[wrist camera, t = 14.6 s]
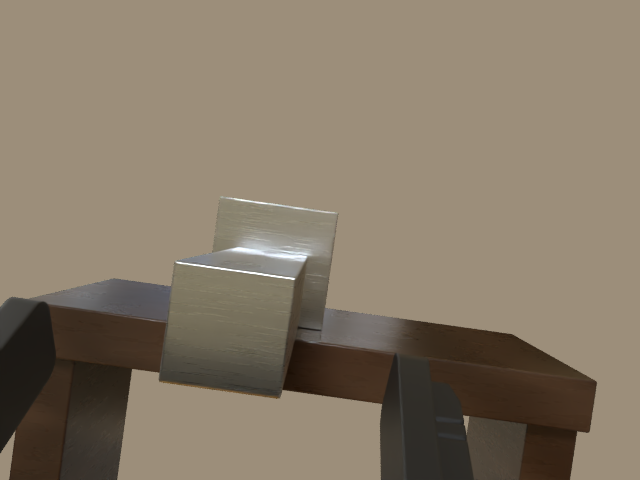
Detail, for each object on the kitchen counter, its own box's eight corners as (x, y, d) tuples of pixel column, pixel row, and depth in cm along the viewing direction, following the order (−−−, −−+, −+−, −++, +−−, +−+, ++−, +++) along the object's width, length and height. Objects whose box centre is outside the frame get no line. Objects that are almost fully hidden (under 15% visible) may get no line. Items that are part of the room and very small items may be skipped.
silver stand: (321, 312, 30) (335, 215, 30) (321, 405, 14) (349, 200, 14) (225, 298, 30) (238, 201, 30) (116, 376, 14) (143, 172, 14)
